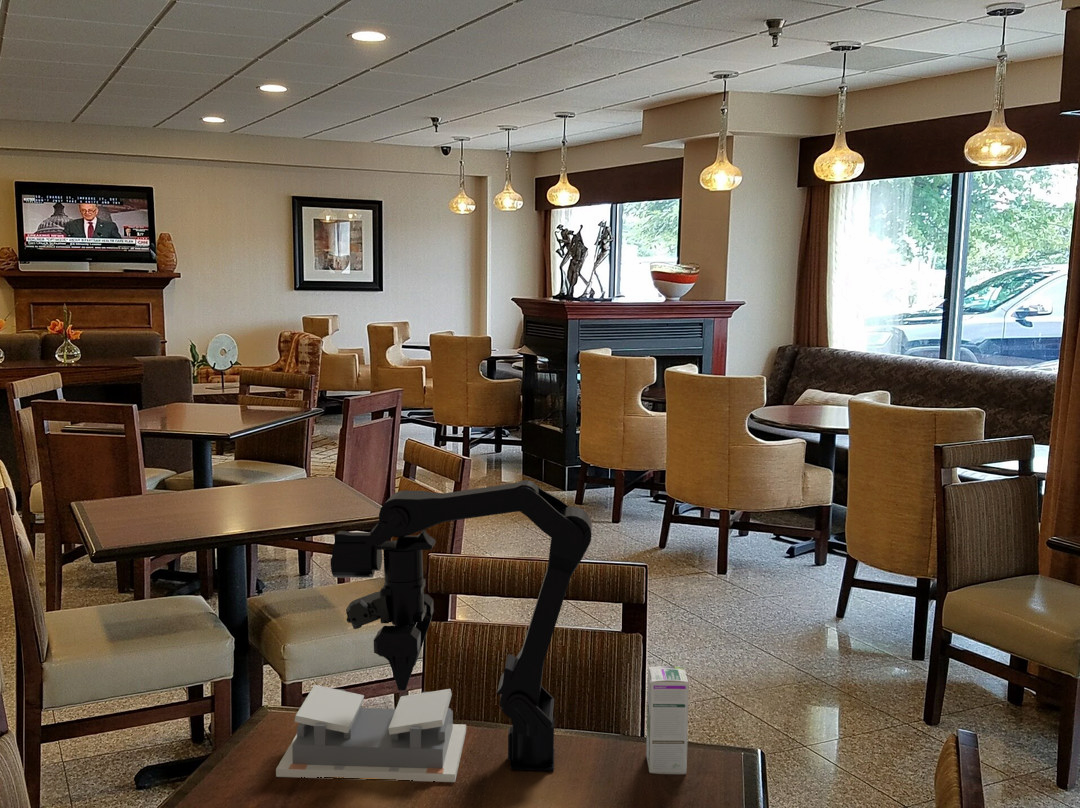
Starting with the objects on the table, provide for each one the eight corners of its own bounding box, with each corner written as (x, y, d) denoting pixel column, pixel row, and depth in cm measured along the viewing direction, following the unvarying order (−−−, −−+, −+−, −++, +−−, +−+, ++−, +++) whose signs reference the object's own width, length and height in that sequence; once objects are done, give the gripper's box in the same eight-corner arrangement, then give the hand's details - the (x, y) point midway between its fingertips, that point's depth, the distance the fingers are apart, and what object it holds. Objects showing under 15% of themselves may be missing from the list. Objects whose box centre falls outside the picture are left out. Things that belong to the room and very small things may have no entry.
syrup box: (687, 775, 145) (691, 681, 144) (647, 774, 146) (650, 680, 144) (682, 756, 151) (686, 666, 149) (644, 755, 151) (647, 664, 149)
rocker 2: (452, 698, 155) (450, 688, 155) (443, 730, 144) (441, 719, 144) (402, 706, 155) (400, 696, 155) (390, 738, 144) (388, 728, 144)
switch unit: (466, 731, 158) (466, 688, 157) (455, 782, 142) (455, 734, 141) (305, 726, 159) (304, 684, 158) (276, 776, 143) (275, 729, 142)
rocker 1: (362, 704, 155) (364, 695, 155) (347, 737, 144) (349, 726, 144) (312, 694, 155) (314, 684, 155) (293, 725, 144) (295, 715, 144)
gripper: (362, 559, 156) (366, 654, 158) (335, 597, 137) (340, 704, 139) (432, 559, 155) (435, 654, 157) (415, 596, 137) (418, 704, 139)
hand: (407, 677), depth 148 cm, fingers open, 9 cm apart
